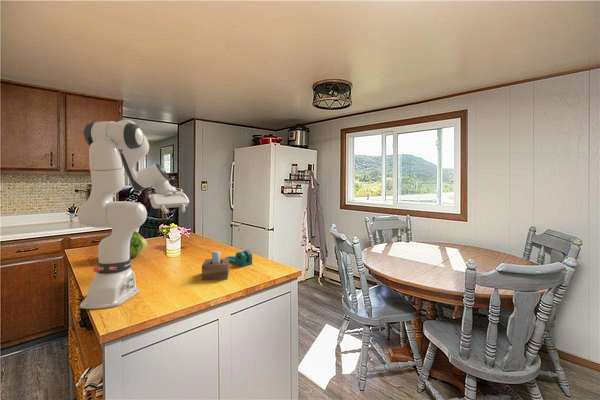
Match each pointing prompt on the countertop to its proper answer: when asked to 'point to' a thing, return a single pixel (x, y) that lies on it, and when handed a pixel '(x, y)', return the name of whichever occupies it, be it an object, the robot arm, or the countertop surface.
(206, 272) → the brown toaster
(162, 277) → the countertop surface
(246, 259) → the teal elongated piece
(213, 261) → the blue dowel
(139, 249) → the lettuce
